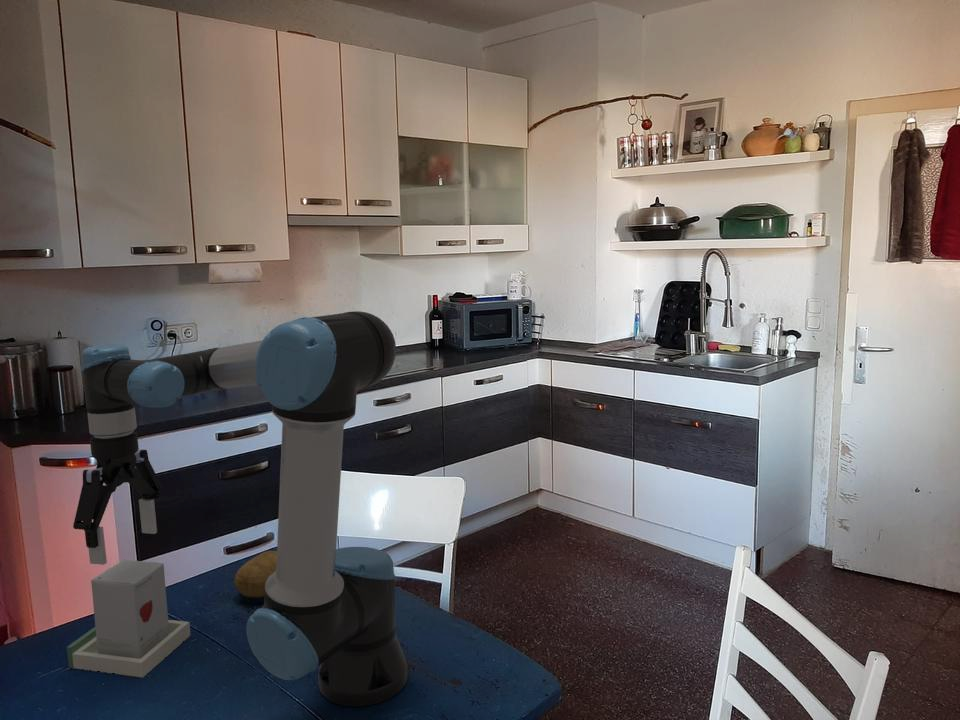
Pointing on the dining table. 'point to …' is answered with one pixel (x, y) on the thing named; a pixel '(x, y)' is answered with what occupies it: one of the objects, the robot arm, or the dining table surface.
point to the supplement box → (130, 608)
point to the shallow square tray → (87, 657)
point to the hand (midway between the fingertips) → (125, 547)
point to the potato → (256, 574)
